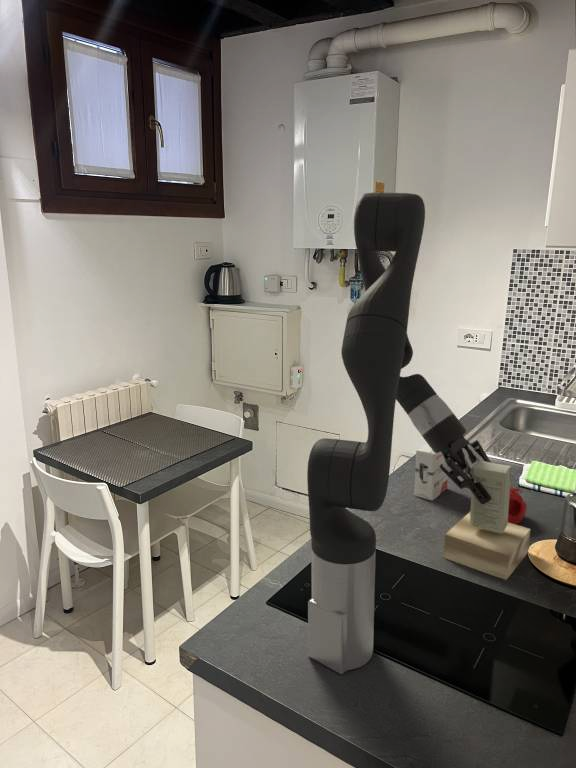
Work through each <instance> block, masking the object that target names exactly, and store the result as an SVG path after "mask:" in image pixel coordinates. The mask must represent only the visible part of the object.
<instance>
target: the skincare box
mask: <svg viewBox="0 0 576 768" xmlns="http://www.w3.org/2000/svg"><path fill="white" fill-rule="evenodd" d="M473 473H474V475H475V476H476V477H477V479H478V483H479V482H480V483H481V484H482V486H483V487H484V488H485V490H486V491H487V492H488V494H489V495H490V496H491V500H490V501H488V502H487V503H485V504H481V503H480V502H479V501H478V499H477V498H476V497H475V495H474V494H473V493H472V491H470V492H471V493H470V494H471V497H470V510H469V512H470V526H472V527H476V528H480V529H485V530H489V531H493V532H497V533H503V532H504V530H505V528H506V527H507V524H508V510H509V495H510V487H511V481H512V480H511V475H512V465H508V464H503V463H497V462H492V461H490V462H486V461H484V460H483V461H480V460H479V461H478V462H477V463H476V464H475V465H474V466H473Z"/></svg>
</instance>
